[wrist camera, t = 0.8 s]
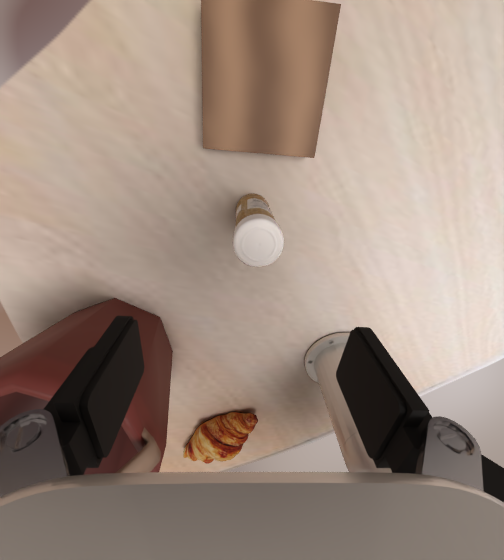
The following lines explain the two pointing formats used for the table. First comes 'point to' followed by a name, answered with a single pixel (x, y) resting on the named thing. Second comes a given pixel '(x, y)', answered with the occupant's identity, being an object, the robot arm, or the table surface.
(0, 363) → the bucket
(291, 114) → the walnut plinth
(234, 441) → the croissant
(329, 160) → the table surface
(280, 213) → the table surface
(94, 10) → the table surface
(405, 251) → the table surface
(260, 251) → the sprinkles bottle
